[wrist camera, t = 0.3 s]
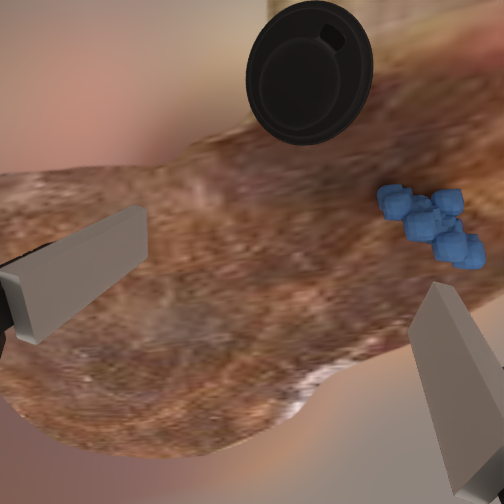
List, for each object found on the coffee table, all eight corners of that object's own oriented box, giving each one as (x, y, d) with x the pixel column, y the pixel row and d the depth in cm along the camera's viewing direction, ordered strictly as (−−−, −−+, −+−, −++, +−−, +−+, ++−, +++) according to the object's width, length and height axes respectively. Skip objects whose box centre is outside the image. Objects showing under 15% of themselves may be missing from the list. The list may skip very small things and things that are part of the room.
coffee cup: (374, 43, 31) (398, -1, 18) (348, 139, 36) (351, 159, 23) (285, 32, 33) (248, -16, 20) (270, 125, 37) (232, 136, 24)
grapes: (486, 203, 35) (547, 245, 24) (441, 247, 38) (477, 301, 28) (400, 149, 35) (425, 169, 24) (362, 198, 38) (370, 233, 28)
